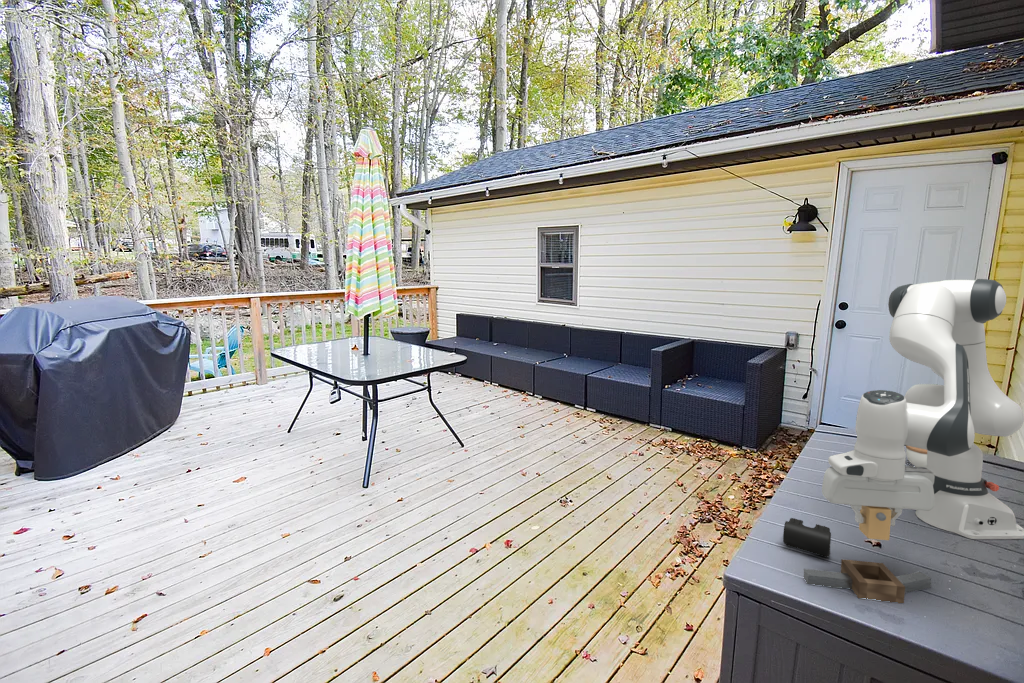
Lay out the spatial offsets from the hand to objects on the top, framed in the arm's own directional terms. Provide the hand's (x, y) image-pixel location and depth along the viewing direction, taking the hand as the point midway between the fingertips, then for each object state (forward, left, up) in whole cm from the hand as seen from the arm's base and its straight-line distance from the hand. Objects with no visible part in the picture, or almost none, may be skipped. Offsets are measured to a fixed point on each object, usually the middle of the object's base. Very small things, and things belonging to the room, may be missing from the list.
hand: (874, 523), depth 100 cm
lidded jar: (-53, -78, -16) cm, 96 cm away
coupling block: (0, 0, -3) cm, 3 cm away
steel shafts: (0, -2, -16) cm, 16 cm away
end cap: (+8, -14, -16) cm, 23 cm away
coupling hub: (0, 0, -16) cm, 16 cm away
